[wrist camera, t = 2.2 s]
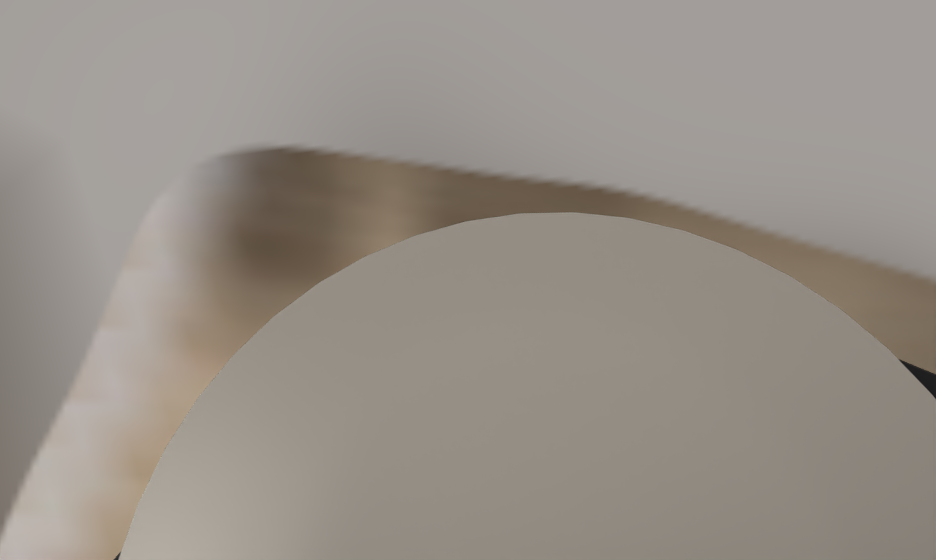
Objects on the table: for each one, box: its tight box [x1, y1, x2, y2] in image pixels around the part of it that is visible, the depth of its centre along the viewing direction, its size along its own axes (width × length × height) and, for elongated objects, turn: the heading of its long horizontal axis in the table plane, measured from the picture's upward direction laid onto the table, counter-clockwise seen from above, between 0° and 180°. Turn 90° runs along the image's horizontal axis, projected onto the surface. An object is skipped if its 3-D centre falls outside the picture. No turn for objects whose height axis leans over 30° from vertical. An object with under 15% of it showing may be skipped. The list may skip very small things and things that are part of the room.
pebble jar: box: [119, 212, 936, 560], centre depth 10 cm, size 6×6×12 cm
